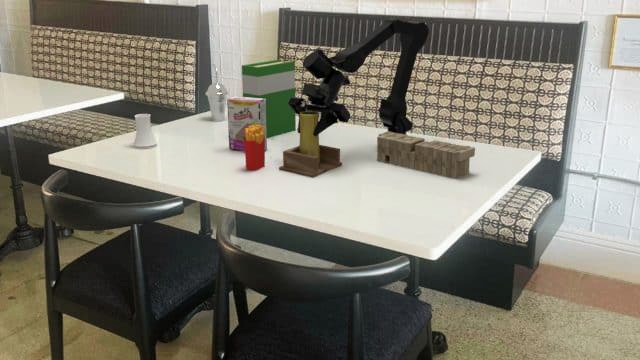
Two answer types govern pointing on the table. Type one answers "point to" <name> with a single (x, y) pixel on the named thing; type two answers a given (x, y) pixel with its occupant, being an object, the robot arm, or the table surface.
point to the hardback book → (272, 92)
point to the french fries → (254, 147)
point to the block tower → (424, 154)
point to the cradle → (311, 161)
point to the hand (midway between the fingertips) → (306, 134)
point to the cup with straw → (217, 99)
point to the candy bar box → (244, 119)
